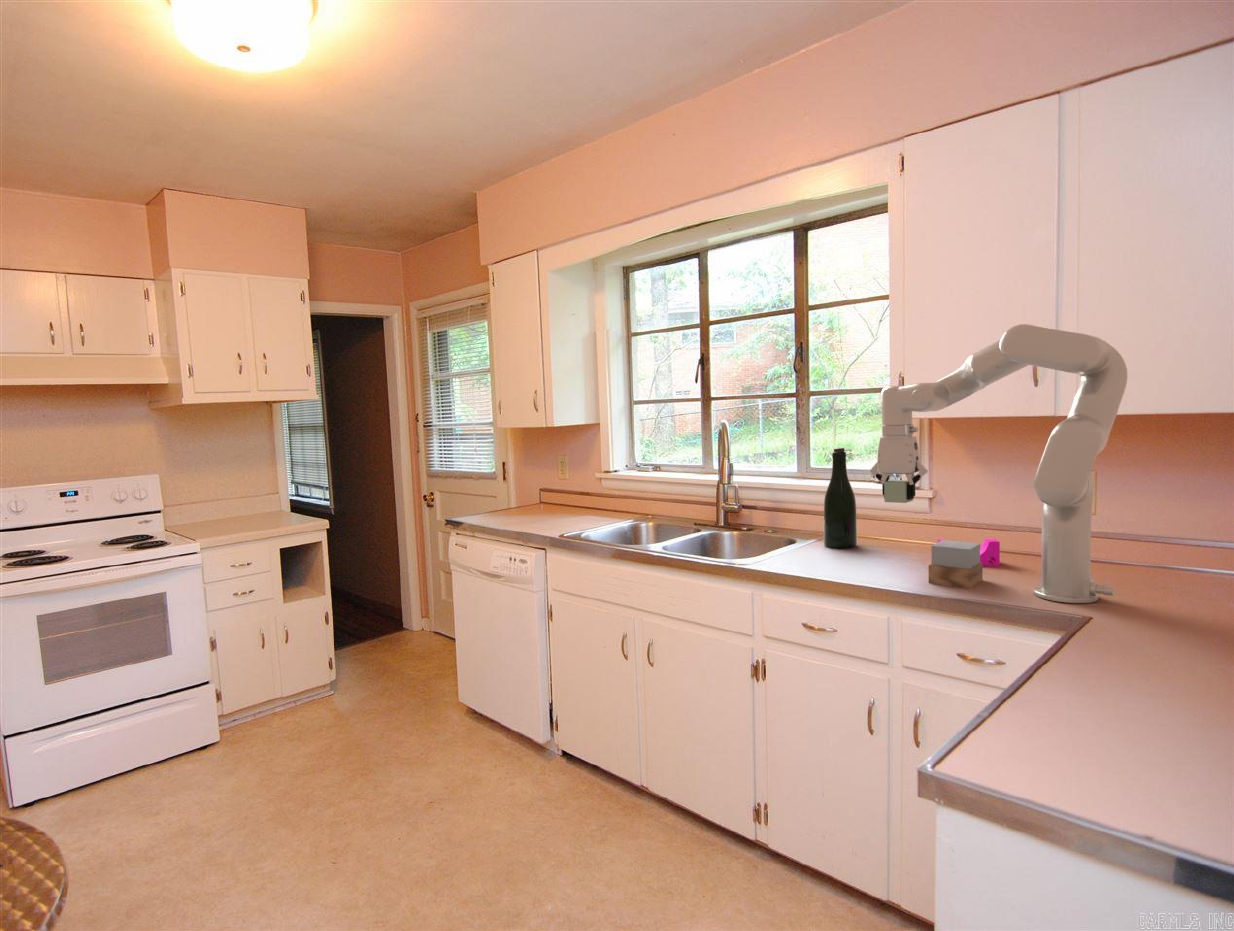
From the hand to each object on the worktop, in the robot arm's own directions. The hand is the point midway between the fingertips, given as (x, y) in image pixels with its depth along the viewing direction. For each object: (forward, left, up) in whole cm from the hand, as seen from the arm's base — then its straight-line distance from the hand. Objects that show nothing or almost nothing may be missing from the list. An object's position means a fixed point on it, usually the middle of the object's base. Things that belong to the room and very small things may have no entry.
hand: (898, 497), depth 181 cm
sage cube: (0, 0, -1) cm, 1 cm away
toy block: (-11, -21, -21) cm, 32 cm away
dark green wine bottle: (+29, -25, -21) cm, 44 cm away
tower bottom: (-14, 0, -21) cm, 26 cm away
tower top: (-14, 0, -16) cm, 22 cm away
